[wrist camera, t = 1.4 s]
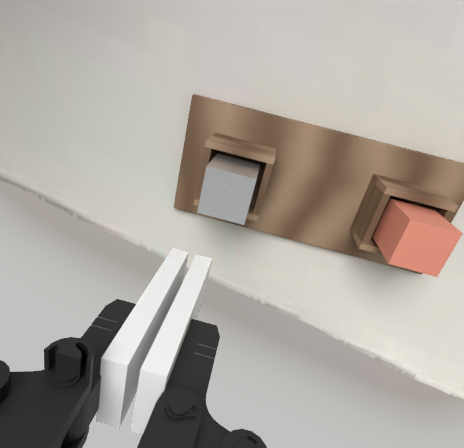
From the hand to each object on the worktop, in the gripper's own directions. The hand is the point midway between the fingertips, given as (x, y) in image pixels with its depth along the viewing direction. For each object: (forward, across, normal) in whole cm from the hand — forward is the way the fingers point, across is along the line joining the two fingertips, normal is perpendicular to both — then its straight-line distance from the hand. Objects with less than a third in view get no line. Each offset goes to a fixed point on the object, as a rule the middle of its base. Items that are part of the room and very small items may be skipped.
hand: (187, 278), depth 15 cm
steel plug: (+17, 0, 0) cm, 17 cm away
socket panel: (+21, +8, 0) cm, 23 cm away
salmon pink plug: (+17, +16, 0) cm, 23 cm away
